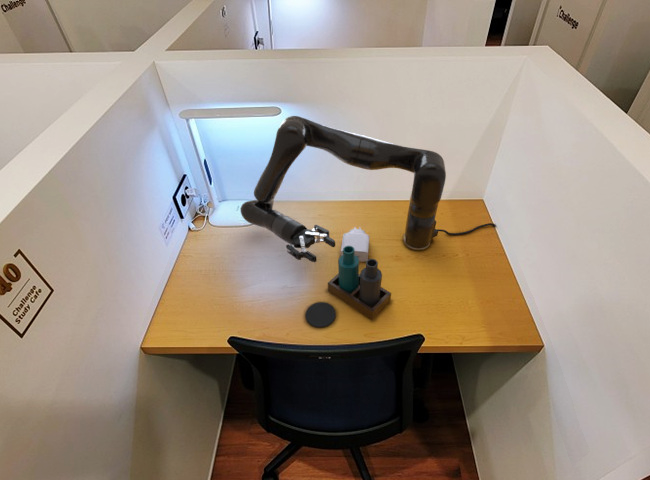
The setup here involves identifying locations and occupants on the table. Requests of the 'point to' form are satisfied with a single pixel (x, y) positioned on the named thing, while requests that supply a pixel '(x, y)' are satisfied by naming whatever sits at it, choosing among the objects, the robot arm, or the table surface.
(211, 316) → the table surface
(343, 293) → the caddy
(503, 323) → the table surface
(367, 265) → the charcoal bottle
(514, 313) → the table surface
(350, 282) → the teal bottle
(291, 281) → the table surface
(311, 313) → the coaster
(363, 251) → the charger
